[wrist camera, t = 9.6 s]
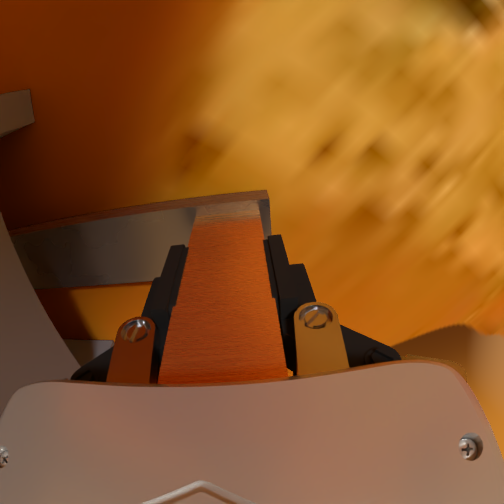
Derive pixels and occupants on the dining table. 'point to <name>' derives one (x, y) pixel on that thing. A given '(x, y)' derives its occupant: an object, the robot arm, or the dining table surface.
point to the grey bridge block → (29, 302)
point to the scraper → (192, 283)
